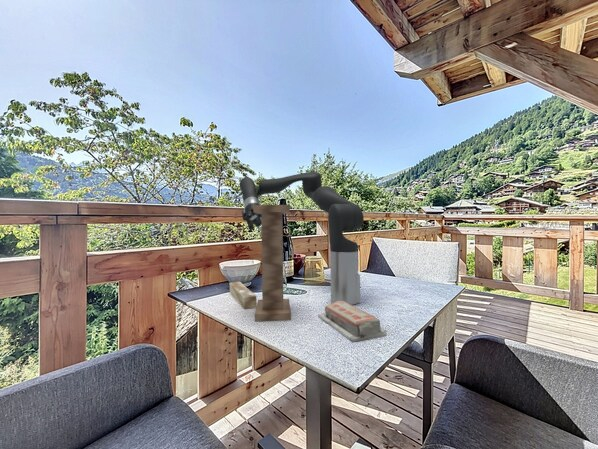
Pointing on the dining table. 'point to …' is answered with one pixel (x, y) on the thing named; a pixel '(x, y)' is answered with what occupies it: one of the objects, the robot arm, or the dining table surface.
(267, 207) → the stand
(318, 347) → the dining table surface
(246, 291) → the beige wooden bar
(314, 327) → the dining table surface
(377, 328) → the red and grey block
